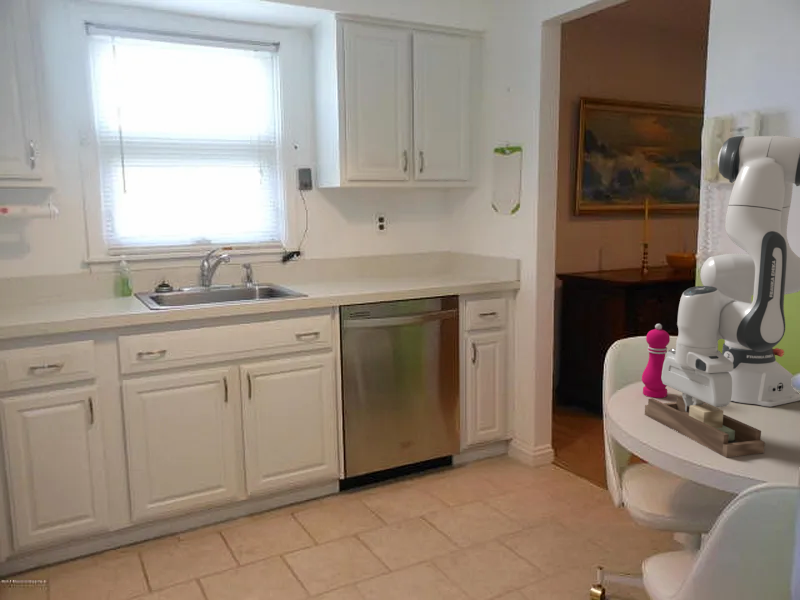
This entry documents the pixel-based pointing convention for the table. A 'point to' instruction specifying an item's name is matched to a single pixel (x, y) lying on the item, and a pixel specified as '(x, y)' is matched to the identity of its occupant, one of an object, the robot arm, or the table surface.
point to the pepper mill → (655, 363)
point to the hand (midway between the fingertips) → (692, 413)
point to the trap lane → (708, 429)
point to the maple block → (707, 414)
